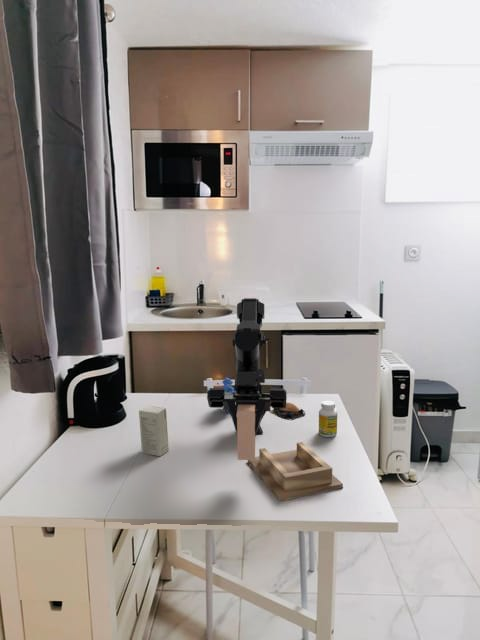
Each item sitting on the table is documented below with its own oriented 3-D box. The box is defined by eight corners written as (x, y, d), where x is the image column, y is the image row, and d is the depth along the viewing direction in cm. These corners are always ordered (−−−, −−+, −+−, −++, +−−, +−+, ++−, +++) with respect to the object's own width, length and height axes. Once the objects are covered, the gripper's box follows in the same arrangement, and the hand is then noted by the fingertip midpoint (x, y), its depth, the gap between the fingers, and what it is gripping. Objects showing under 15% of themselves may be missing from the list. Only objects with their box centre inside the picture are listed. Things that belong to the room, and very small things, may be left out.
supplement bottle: (328, 428, 149) (328, 398, 148) (340, 434, 145) (341, 403, 143) (314, 432, 147) (315, 401, 145) (327, 439, 142) (328, 407, 140)
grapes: (242, 418, 158) (242, 382, 156) (221, 419, 158) (220, 382, 155) (239, 405, 170) (239, 371, 167) (219, 406, 169) (219, 372, 167)
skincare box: (169, 450, 136) (167, 408, 133) (160, 457, 132) (158, 413, 130) (149, 446, 138) (147, 404, 136) (140, 452, 134) (138, 409, 132)
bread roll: (267, 413, 164) (267, 403, 163) (285, 407, 169) (285, 397, 168) (290, 422, 156) (290, 411, 155) (308, 416, 161) (309, 405, 160)
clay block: (238, 452, 119) (238, 404, 117) (255, 452, 119) (255, 404, 116) (237, 459, 115) (237, 410, 113) (254, 460, 115) (254, 411, 113)
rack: (247, 461, 129) (247, 445, 128) (303, 451, 134) (303, 436, 133) (280, 500, 110) (280, 482, 109) (342, 487, 116) (343, 469, 115)
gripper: (207, 355, 117) (202, 417, 108) (286, 356, 116) (288, 418, 107) (211, 377, 126) (207, 436, 117) (285, 378, 125) (286, 437, 116)
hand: (246, 432), depth 114 cm, fingers closed on clay block, 4 cm apart
